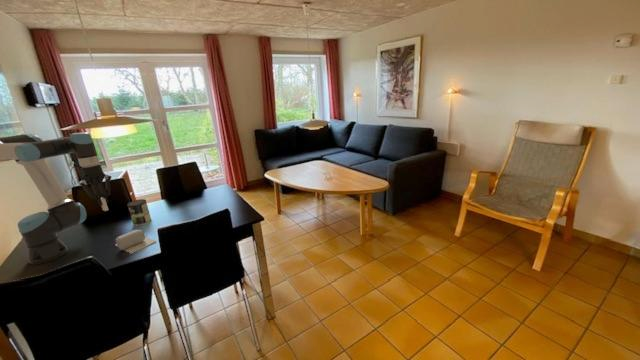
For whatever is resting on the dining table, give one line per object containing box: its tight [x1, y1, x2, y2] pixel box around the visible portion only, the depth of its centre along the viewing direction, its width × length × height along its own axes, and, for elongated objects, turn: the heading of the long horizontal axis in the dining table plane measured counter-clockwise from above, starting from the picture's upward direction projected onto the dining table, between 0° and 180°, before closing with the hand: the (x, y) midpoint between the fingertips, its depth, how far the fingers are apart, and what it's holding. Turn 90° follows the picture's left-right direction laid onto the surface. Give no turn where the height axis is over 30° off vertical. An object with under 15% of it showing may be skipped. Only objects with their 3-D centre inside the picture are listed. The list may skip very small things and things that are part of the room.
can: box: [115, 229, 146, 251], centre depth 146 cm, size 8×8×12 cm
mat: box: [114, 235, 157, 255], centre depth 150 cm, size 13×18×1 cm
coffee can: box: [126, 198, 152, 226], centre depth 174 cm, size 10×10×14 cm
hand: (105, 210), depth 136 cm, fingers closed
